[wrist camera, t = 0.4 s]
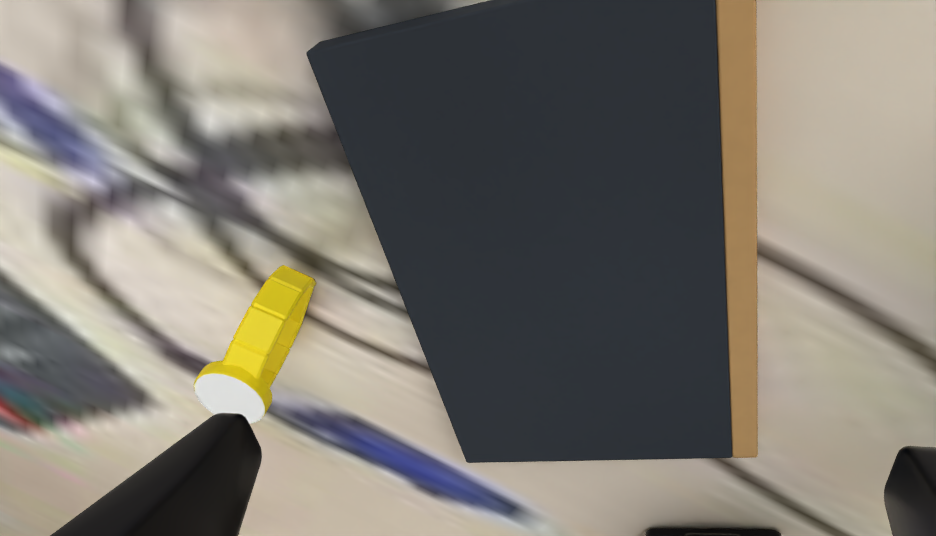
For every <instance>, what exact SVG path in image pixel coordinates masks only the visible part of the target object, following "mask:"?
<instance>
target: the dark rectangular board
mask: <svg viewBox="0 0 936 536" xmlns="http://www.w3.org/2000/svg"><path fill="white" fill-rule="evenodd" d="M307 57H308V59H309V62H310V64H311V67H312V69H313V72H314V74H315V77H316V80H317V82H318V85H319V87H320V90H321V92H322V95H323V97H324V100H325V103H326V105H327V108H328V110H329V113H330V115H331V118H332V120H333V123H334V125H335V128H336V131H337V133H338V136H339V138H340V141H341V143H342V146H343V148H344V151H345V153H346V156H347V159H348V161H349V164H350V166H351V169H352V171H353V174H354V176H355V179H356V181H357V184H358V187H359V189H360V192H361V194H362V197H363V199H364V202H365V204H366V207H367V209H368V212H369V215H370V217H371V220H372V222H373V225H374V227H375V230H376V232H377V235H378V238H379V240H380V243H381V245H382V248H383V250H384V253H385V255H386V258H387V260H388V263H389V266H390V268H391V271H392V273H393V276H394V278H395V281H396V283H397V286H398V288H399V291H400V294H401V296H402V299H403V301H404V304H405V306H406V309H407V311H408V314H409V316H410V319H411V322H412V324H413V327H414V329H415V332H416V334H417V337H418V339H419V342H420V344H421V347H422V350H423V352H424V355H425V357H426V360H427V362H428V365H429V367H430V370H431V373H432V375H433V378H434V380H435V383H436V385H437V388H438V390H439V393H440V395H441V398H442V401H443V403H444V406H445V408H446V411H447V413H448V416H449V418H450V421H451V423H452V426H453V429H454V431H455V434H456V436H457V439H458V441H459V444H460V446H461V449H462V451H463V454H464V457H465V459H466V462H468V463H479V462H532V461H585V460H638V459H692V458H731V457H732V456H733V457H734V458H747V457H757V455H758V424H757V80H756V0H491V1H487V2H482V3H478V4H474V5H470V6H466V7H462V8H458V9H454V10H449V11H445V12H441V13H437V14H433V15H429V16H425V17H421V18H416V19H412V20H408V21H404V22H400V23H396V24H392V25H388V26H383V27H379V28H375V29H371V30H367V31H363V32H359V33H355V34H350V35H346V36H342V37H338V38H334V39H330V40H326V41H322V42H319V43H318V44H317V45H315V46H314V47H313V48H311V49H310V50H309V51H308V52H307Z"/></svg>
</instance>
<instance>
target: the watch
mask: <svg viewBox="0 0 936 536" xmlns="http://www.w3.org/2000/svg"><path fill="white" fill-rule="evenodd" d="M315 285H316V282H315V280H314V279H313V278H311V277H309V276H307V275H305V274H302V273H300V272H298V271H296V270H293V269H291V268H289V267H287V266H284V265H283V266H281V267H279V268H278V269H277V270H276V271H275V272H274V273H273V274H272V275H271V276H270V277H269V278H268V280H267V281H266V282H265V284H264V285H263V287H262V288H261V290H260V291H259V293H258V294H257V296H256V297H255V299H254V300H253V302H252V304H251V306H250V307H249V308H248V310H247V312H246V314H245V316H244V318H243V320H242V322H241V323H240V325H239V327H238V329H237V331H236V333H235V335H234V337H233V338H234V340H232V341H231V343H230V346H229V348H228V350H227V353H226V355H225V358H224V360H223V361H216V362H211V363H210V364H208V365H206V366H205V367H204V368H203V370H202V371H201V372H200V374H199V375H198V376H197V378H196V380H195V382H194V391H195V394H196V396H197V398H198V400H199V401H200V402H201V403H202V404H203V406H204V407H205V408H206V409H208V410H209V411H210V412H212V413H213V414H218V413H238V414H242V415H243V416H245V417H246V419H247V420H248V422H249V424H250V423H255V422H257V421H259V420H261V419H262V418H263V416H264V415H265V413H266V412H267V410H268V408H269V406H270V405H271V403H272V393H271V390H270V386H271V385H272V383H273V381H274V380H275V378H276V375H277V374H278V372H279V370H280V368H281V366H282V364H283V363H284V361H285V359H286V357H287V355H288V353H289V351H290V349H289V348H291V347H292V345H293V342H294V340H295V338H296V336H297V334H298V332H299V329H300V327H301V325H302V322H303V319H304V316H305V313H306V310H307V307H308V304H309V301H310V298H311V294H312V291H313V288H314V286H315Z"/></svg>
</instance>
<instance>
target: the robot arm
mask: <svg viewBox="0 0 936 536" xmlns="http://www.w3.org/2000/svg"><path fill="white" fill-rule="evenodd" d="M261 458H262V453H261V447H260V445H259V443H258V441H257V439H256V437H255V435H254V433H253V430H252V428H251V426H250V424H249V422H248V420H247V419H246V417H245V416H243V415H242V414H238V413H218V414H215V415H214V416H212V417H210V418H209V419H208V420H206V421H205V422H204V423H202V424H201V425H200V426H198V427H197V428H196V429H194V430H193V431H191V432H190V433H189V434H187V435H186V436H185V437H183V438H182V439H181V440H179V441H178V442H177V443H175V444H174V445H173V446H171V447H170V448H168V449H167V450H166V451H164V452H163V453H162V454H160V455H159V456H158V457H156V458H155V459H154V460H152V461H151V462H149V463H148V464H147V465H145V466H144V467H143V468H141V469H140V470H139V471H137V472H136V473H135V474H133V475H132V476H131V477H129V478H128V479H126V480H125V481H124V482H122V483H121V484H120V485H118V486H117V487H116V488H114V489H113V490H112V491H110V492H109V493H107V494H106V495H105V496H103V497H102V498H101V499H99V500H98V501H97V502H95V503H94V504H93V505H91V506H90V507H89V508H87V509H86V510H84V511H83V512H82V513H80V514H79V515H78V516H76V517H75V518H74V519H72V520H71V521H70V522H68V523H67V524H65V525H64V526H63V527H61V528H60V529H59V530H57V531H56V532H55V533H53V534H52V535H51V536H238V534H239V531H240V528H241V524H242V521H243V518H244V515H245V512H246V508H247V505H248V502H249V499H250V496H251V493H252V489H253V486H254V483H255V480H256V477H257V473H258V470H259V467H260V464H261ZM884 501H885V507H886V511H887V515H888V519H889V523H890V527H891V530H892V534H893V536H936V448H935V447H918V446H905V447H903V448H902V449H900V450H899V452H898V454H897V456H896V459H895V462H894V464H893V467H892V469H891V472H890V475H889V477H888V480H887V482H886V485H885V490H884ZM645 535H646V536H781V533H779V532H778V531H775V530H735V529H649V530H647V531H646V534H645Z"/></svg>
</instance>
